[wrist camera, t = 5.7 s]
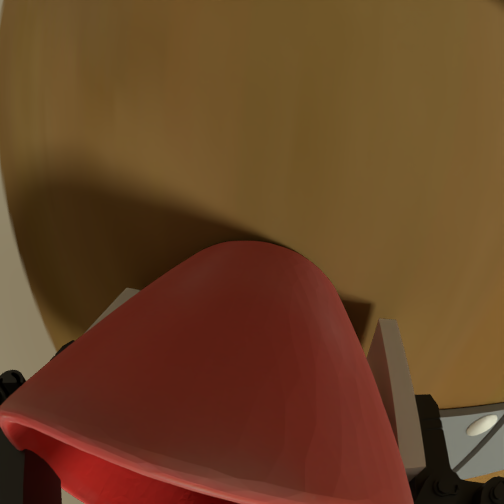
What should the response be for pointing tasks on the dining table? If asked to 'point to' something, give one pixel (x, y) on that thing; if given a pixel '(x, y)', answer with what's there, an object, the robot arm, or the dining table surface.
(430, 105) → the dining table surface
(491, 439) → the pad two
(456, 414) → the pad one
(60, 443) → the flower pot
